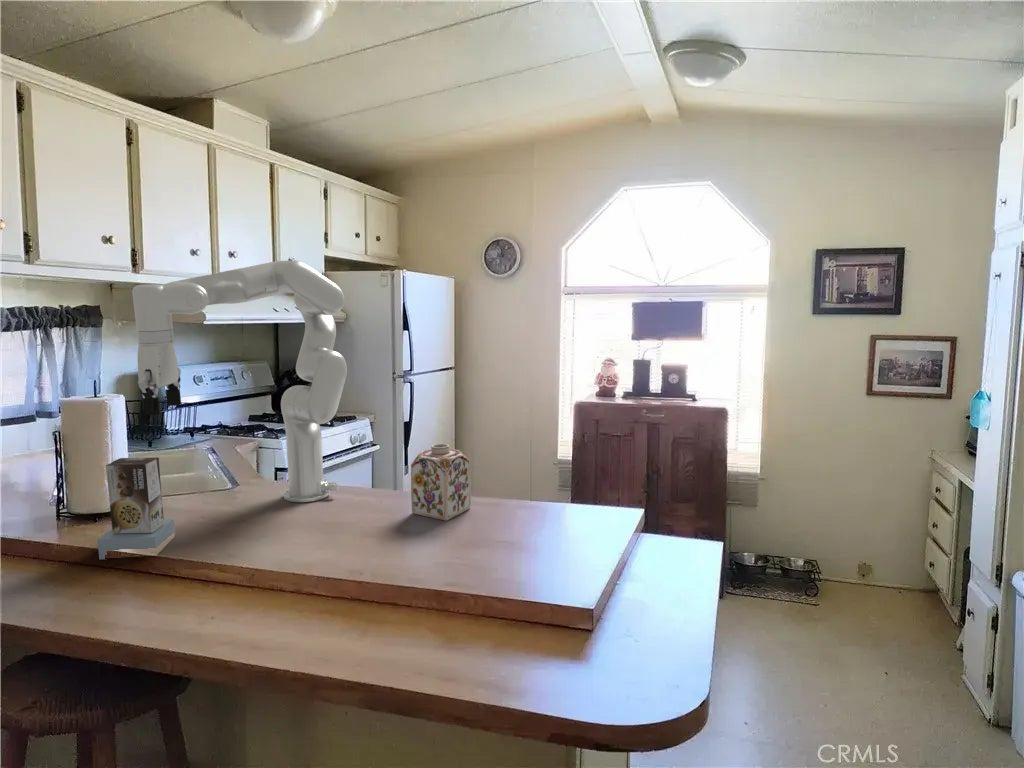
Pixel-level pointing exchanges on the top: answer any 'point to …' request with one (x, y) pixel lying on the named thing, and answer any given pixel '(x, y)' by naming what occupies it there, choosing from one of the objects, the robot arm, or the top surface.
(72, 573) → the top surface
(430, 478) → the decorative jar
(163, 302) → the robot arm
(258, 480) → the top surface
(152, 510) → the cookie box
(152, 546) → the grey block
